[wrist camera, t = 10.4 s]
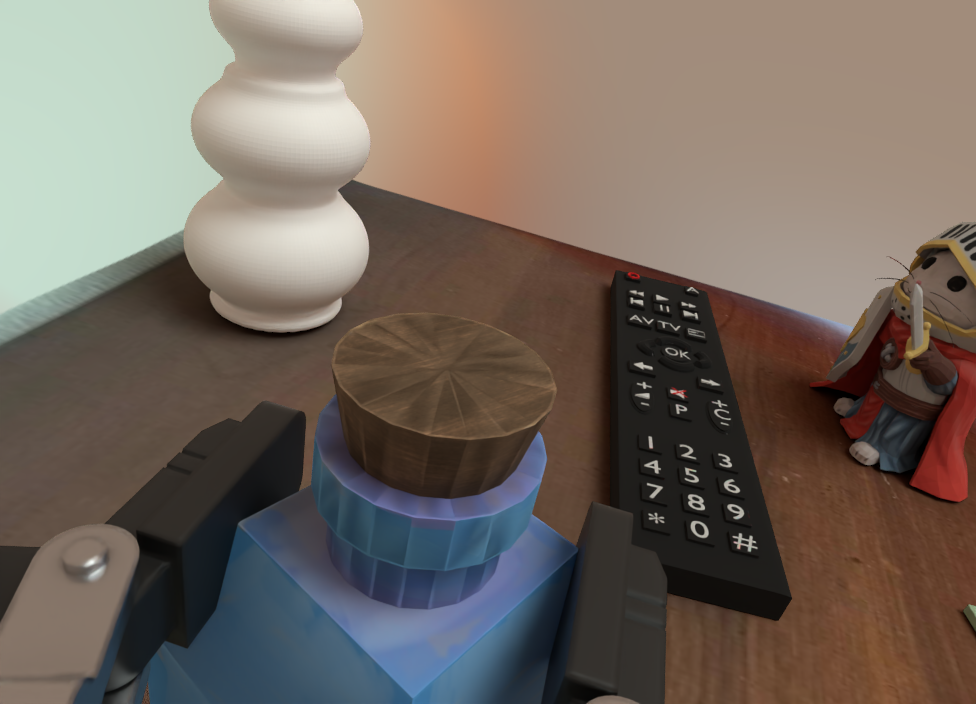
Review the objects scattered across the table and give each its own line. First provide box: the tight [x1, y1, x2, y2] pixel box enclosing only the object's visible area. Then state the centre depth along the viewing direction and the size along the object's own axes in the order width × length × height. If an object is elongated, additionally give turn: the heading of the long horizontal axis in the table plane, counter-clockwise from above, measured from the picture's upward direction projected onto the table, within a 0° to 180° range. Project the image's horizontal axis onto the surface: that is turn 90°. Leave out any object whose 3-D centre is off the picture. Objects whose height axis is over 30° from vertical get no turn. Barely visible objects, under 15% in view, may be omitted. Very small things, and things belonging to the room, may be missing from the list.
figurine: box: [810, 222, 976, 502], centre depth 43 cm, size 13×12×15 cm
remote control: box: [610, 270, 792, 620], centre depth 45 cm, size 8×32×2 cm, turn 171°
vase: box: [184, 0, 370, 333], centre depth 39 cm, size 11×11×25 cm
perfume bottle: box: [148, 313, 579, 704], centre depth 13 cm, size 6×6×12 cm
